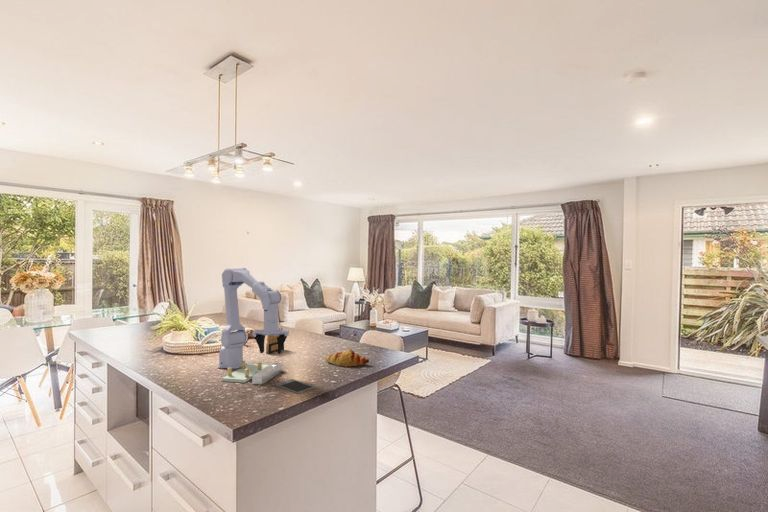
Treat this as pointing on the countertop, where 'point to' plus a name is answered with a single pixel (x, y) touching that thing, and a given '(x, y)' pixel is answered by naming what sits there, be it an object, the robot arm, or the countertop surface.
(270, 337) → the ammunition clip
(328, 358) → the croissant
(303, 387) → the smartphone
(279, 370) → the grey bar
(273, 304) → the robot arm
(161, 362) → the countertop surface
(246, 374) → the rack
